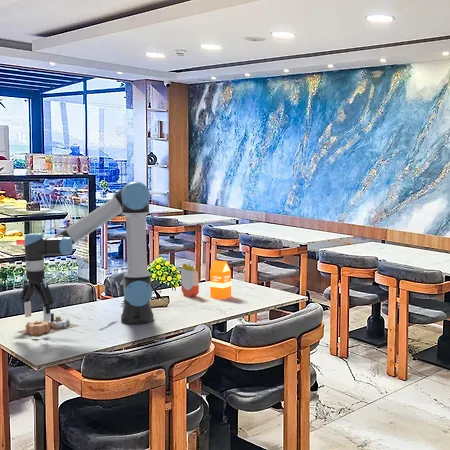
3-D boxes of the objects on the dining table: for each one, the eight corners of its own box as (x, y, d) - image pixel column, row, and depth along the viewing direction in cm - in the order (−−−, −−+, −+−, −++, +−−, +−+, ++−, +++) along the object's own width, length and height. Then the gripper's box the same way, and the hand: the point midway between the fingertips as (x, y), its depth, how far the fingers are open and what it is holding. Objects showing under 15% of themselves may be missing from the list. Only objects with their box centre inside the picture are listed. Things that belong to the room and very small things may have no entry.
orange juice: (218, 294, 322) (217, 259, 320) (231, 296, 316) (230, 260, 315) (210, 297, 315) (209, 261, 313) (223, 299, 310) (222, 262, 308)
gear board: (79, 328, 256) (78, 316, 255) (36, 340, 238) (35, 327, 238) (59, 324, 264) (59, 312, 264) (16, 335, 247) (16, 322, 246)
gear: (73, 323, 259) (73, 311, 258) (62, 329, 250) (61, 317, 249) (54, 322, 261) (54, 310, 261) (42, 328, 252) (42, 316, 251)
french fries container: (188, 293, 326) (187, 262, 324) (199, 296, 317) (198, 264, 316) (181, 294, 323) (180, 263, 321) (192, 297, 314) (192, 265, 313)
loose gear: (54, 330, 248) (54, 322, 248) (35, 335, 241) (34, 327, 240) (41, 327, 254) (40, 319, 254) (21, 332, 246) (21, 324, 246)
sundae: (119, 301, 309) (118, 273, 307) (132, 301, 309) (131, 273, 308) (118, 304, 302) (117, 276, 301) (131, 303, 303) (130, 275, 301)
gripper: (10, 268, 249) (13, 316, 251) (45, 273, 234) (47, 325, 236) (25, 266, 255) (28, 313, 257) (60, 271, 240) (62, 321, 242)
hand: (37, 318), depth 247 cm, fingers open, 13 cm apart
